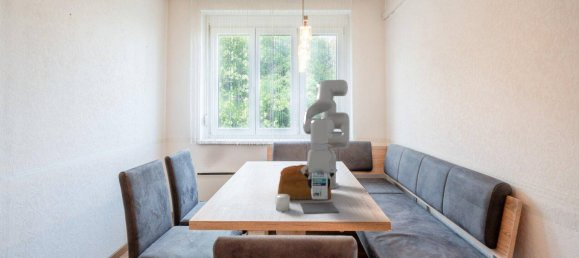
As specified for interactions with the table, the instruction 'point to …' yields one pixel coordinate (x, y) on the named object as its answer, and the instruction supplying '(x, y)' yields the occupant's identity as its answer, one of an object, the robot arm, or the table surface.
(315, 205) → the slate trivet
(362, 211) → the table surface
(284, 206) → the white capsule cylinder
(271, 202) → the table surface
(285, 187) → the bread
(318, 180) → the light bulb box
